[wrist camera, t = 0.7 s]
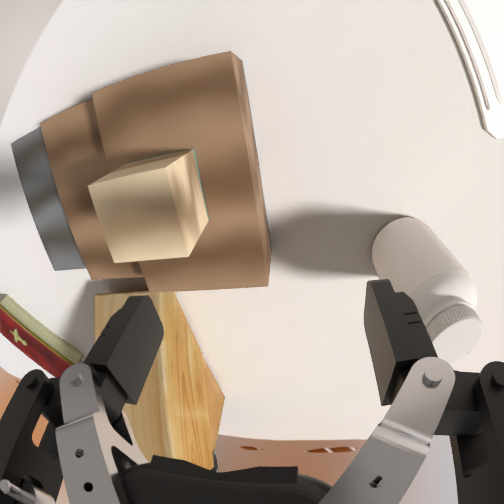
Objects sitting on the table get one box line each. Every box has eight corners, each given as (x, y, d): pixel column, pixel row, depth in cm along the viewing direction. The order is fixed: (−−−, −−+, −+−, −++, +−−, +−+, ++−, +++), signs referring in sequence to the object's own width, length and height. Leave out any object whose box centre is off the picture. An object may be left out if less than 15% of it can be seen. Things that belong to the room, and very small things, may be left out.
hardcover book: (77, 375, 54) (69, 389, 50) (7, 321, 49) (-2, 332, 45) (85, 353, 48) (76, 368, 45) (7, 290, 44) (-5, 303, 40)
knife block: (186, 417, 54) (153, 548, 28) (102, 281, 38) (-17, 471, 11) (238, 419, 52) (215, 562, 25) (171, 273, 36) (56, 525, 9)
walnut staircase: (13, 143, 28) (-20, 156, 23) (242, 61, 23) (230, 51, 18) (56, 268, 38) (32, 294, 32) (271, 250, 33) (268, 286, 27)
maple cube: (127, 163, 23) (87, 185, 17) (193, 148, 22) (165, 167, 16) (145, 227, 25) (114, 263, 20) (209, 219, 24) (188, 256, 19)
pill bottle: (387, 287, 34) (425, 387, 21) (357, 240, 31) (397, 341, 18) (440, 254, 31) (500, 341, 18) (416, 201, 28) (490, 282, 15)
